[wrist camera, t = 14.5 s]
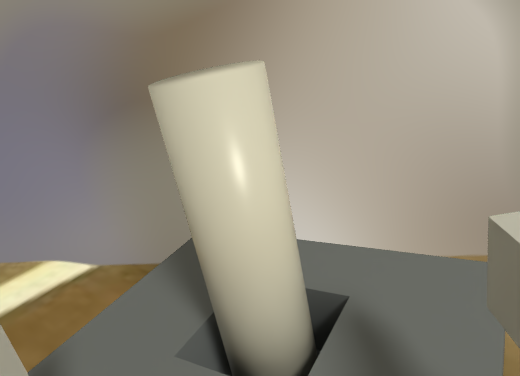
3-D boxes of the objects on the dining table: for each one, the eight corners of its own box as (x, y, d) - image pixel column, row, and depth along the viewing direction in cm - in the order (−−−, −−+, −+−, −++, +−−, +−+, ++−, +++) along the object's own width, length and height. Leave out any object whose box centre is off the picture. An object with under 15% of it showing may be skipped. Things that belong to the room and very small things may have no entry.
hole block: (52, 465, 19) (7, 389, 17) (220, 287, 30) (203, 228, 28) (482, 768, 10) (486, 672, 8) (504, 347, 20) (508, 264, 18)
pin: (224, 411, 19) (122, 92, 13) (265, 350, 22) (197, 68, 16) (301, 444, 17) (219, 80, 11) (335, 370, 20) (284, 55, 14)
